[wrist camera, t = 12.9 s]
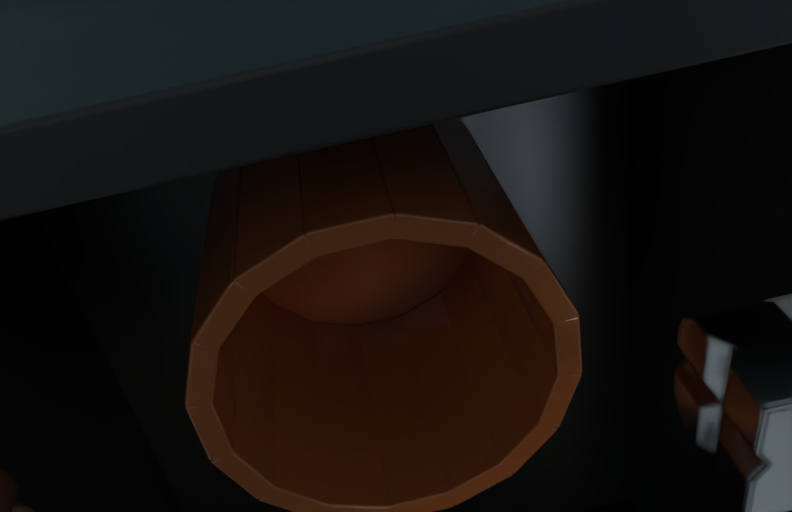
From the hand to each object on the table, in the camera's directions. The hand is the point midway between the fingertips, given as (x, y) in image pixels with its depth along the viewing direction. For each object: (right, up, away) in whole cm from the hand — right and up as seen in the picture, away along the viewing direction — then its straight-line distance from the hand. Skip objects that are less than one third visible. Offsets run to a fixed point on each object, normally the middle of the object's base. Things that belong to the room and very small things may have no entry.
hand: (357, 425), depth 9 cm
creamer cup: (0, +3, +6) cm, 7 cm away
